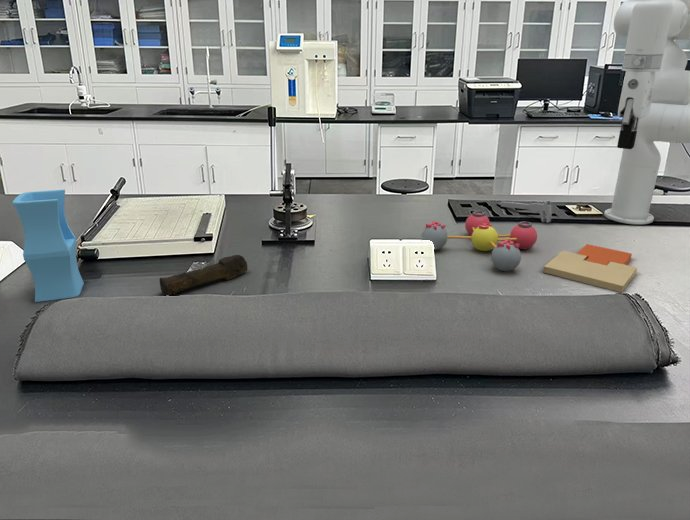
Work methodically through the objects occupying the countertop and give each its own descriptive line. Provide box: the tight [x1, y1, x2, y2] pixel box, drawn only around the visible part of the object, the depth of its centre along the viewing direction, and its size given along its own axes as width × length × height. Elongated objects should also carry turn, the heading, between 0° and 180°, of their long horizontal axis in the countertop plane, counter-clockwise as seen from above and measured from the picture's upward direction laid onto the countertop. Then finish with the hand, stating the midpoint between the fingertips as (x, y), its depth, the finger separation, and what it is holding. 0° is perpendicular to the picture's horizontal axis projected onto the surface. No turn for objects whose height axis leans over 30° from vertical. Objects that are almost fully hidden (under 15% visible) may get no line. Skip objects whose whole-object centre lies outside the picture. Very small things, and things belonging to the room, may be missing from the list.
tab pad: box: [576, 243, 633, 266], centre depth 122 cm, size 11×10×2 cm
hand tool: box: [159, 254, 248, 297], centre depth 110 cm, size 19×4×5 cm, turn 127°
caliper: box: [497, 200, 553, 223], centre depth 154 cm, size 20×1×6 cm, turn 27°
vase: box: [12, 189, 84, 303], centre depth 104 cm, size 8×8×20 cm
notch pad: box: [543, 250, 638, 293], centre depth 116 cm, size 12×16×2 cm
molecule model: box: [420, 210, 538, 272], centre depth 127 cm, size 25×21×6 cm
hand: (625, 147), depth 123 cm, fingers closed
